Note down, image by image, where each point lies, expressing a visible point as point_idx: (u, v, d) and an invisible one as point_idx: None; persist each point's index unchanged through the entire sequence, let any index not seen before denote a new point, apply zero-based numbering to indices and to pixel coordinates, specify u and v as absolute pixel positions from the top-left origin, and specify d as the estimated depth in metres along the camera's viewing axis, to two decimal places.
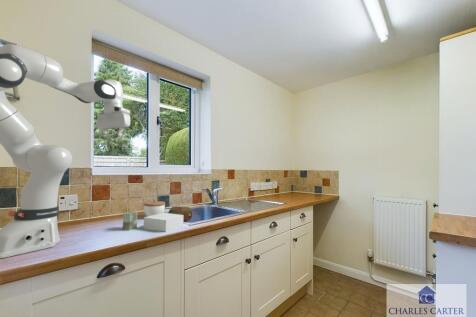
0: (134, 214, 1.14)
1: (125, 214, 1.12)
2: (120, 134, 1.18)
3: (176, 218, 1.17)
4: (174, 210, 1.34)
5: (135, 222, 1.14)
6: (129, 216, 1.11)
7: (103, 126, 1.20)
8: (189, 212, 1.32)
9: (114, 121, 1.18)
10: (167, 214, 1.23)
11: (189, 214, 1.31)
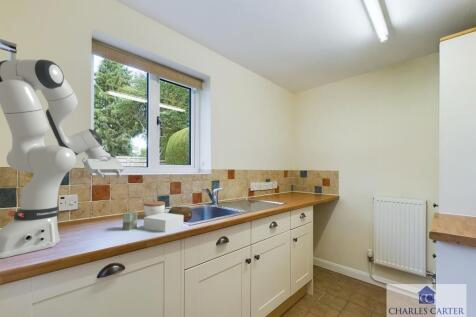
0: (134, 214, 1.14)
1: (125, 214, 1.12)
2: None
3: (176, 218, 1.17)
4: (174, 210, 1.34)
5: (135, 222, 1.14)
6: (129, 216, 1.11)
7: (100, 167, 1.17)
8: (189, 212, 1.32)
9: (111, 165, 1.25)
10: (167, 214, 1.23)
11: (189, 214, 1.31)
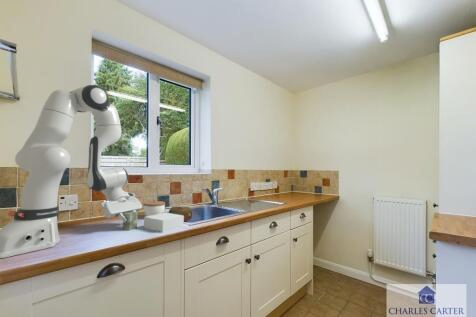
0: (134, 214, 1.14)
1: (125, 214, 1.12)
2: None
3: (175, 218, 1.16)
4: (174, 210, 1.34)
5: (135, 222, 1.14)
6: (129, 216, 1.11)
7: (120, 210, 1.11)
8: (189, 212, 1.32)
9: (130, 205, 1.18)
10: (168, 214, 1.23)
11: (189, 214, 1.31)
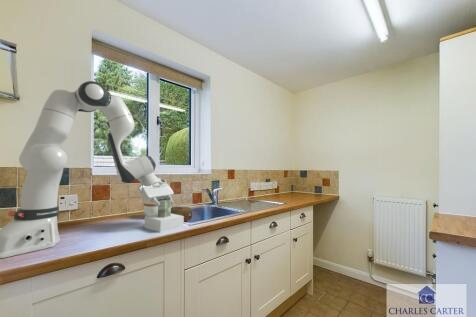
0: (168, 202, 1.19)
1: (160, 202, 1.17)
2: None
3: (174, 219, 1.15)
4: (174, 210, 1.34)
5: (169, 209, 1.19)
6: (164, 204, 1.16)
7: (156, 195, 1.16)
8: (189, 212, 1.32)
9: (163, 190, 1.23)
10: None
11: (189, 214, 1.31)
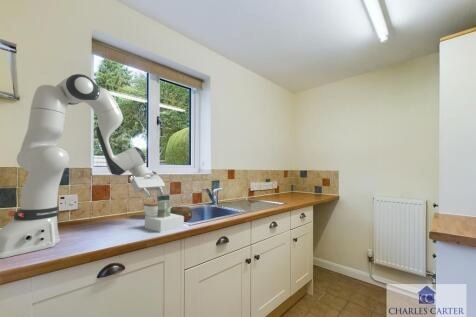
0: (168, 202, 1.18)
1: (159, 202, 1.17)
2: None
3: (174, 219, 1.15)
4: (174, 210, 1.34)
5: (169, 210, 1.19)
6: (164, 204, 1.16)
7: (146, 185, 1.18)
8: (189, 212, 1.32)
9: (154, 182, 1.25)
10: None
11: (189, 214, 1.31)
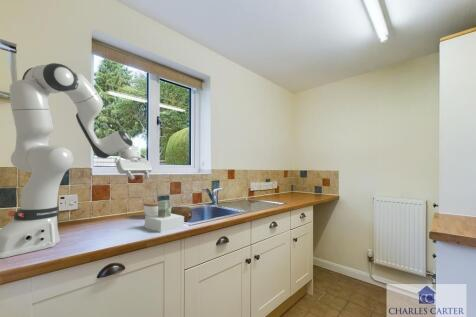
0: (168, 202, 1.18)
1: (160, 202, 1.17)
2: None
3: (174, 219, 1.15)
4: (174, 210, 1.34)
5: (169, 210, 1.19)
6: (164, 204, 1.16)
7: (131, 168, 1.20)
8: (189, 212, 1.32)
9: (141, 166, 1.28)
10: None
11: (189, 214, 1.31)
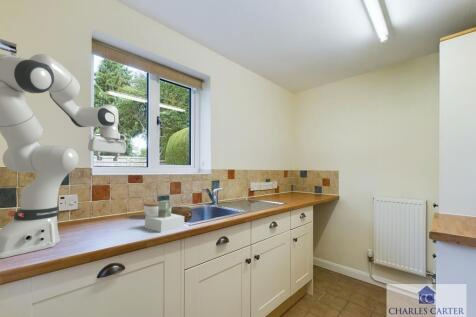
0: (169, 202, 1.18)
1: (160, 202, 1.17)
2: None
3: (175, 219, 1.15)
4: (174, 210, 1.34)
5: (169, 210, 1.19)
6: (165, 204, 1.16)
7: (102, 150, 1.17)
8: (189, 212, 1.32)
9: (115, 147, 1.25)
10: None
11: (189, 214, 1.31)
